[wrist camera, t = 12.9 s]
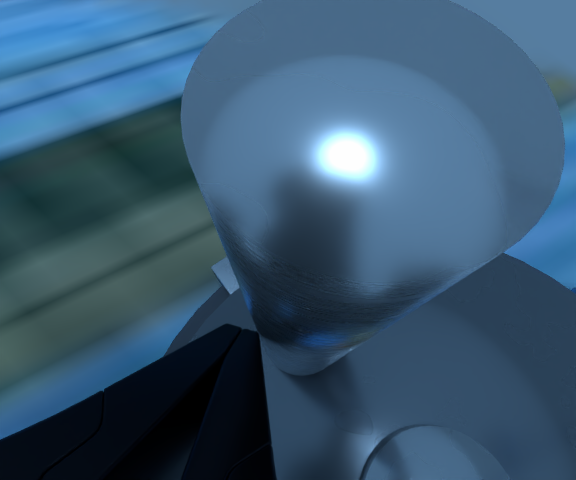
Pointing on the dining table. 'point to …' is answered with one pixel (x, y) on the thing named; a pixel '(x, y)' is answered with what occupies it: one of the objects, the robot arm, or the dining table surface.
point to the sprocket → (388, 237)
